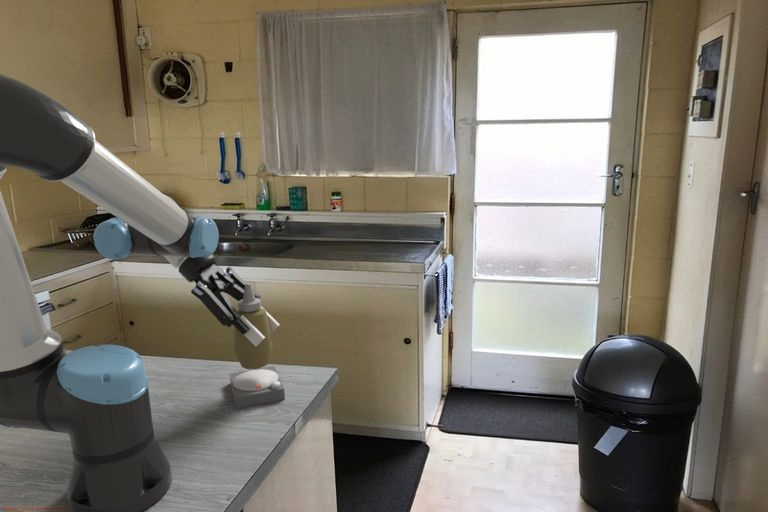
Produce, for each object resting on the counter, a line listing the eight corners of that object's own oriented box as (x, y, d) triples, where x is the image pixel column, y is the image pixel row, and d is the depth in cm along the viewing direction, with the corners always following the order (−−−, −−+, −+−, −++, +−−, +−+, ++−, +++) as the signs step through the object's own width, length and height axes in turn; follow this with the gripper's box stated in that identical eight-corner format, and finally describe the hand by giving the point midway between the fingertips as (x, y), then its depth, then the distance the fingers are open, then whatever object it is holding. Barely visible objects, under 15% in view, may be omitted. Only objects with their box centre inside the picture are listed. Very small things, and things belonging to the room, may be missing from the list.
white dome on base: (284, 399, 119) (283, 385, 119) (236, 408, 116) (234, 394, 115) (275, 375, 130) (274, 362, 130) (230, 383, 127) (229, 370, 126)
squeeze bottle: (279, 357, 125) (273, 279, 121) (265, 373, 118) (258, 291, 113) (245, 355, 127) (237, 278, 122) (229, 371, 119) (221, 289, 115)
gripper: (205, 257, 130) (276, 329, 130) (152, 282, 112) (235, 365, 112) (224, 235, 127) (296, 308, 127) (173, 257, 109) (257, 342, 109)
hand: (267, 335), depth 120 cm, fingers closed on squeeze bottle, 6 cm apart
